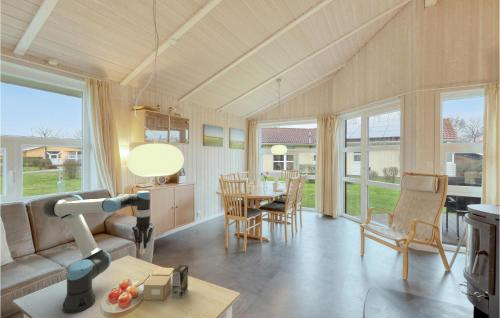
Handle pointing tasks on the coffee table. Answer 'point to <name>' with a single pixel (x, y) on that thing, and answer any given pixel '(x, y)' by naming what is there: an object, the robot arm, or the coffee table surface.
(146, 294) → the carton
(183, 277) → the coffee box
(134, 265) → the coffee table surface
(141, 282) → the panel
